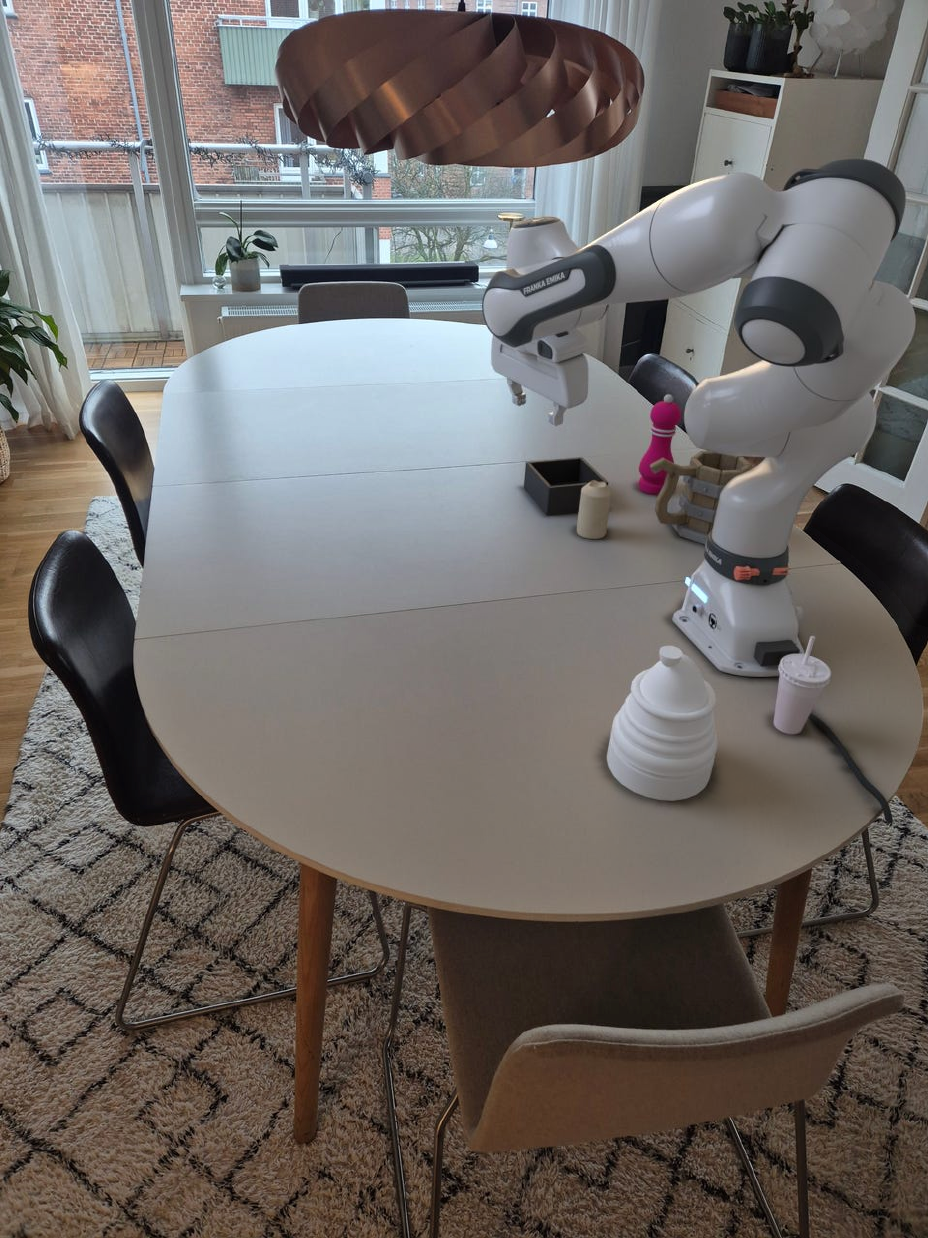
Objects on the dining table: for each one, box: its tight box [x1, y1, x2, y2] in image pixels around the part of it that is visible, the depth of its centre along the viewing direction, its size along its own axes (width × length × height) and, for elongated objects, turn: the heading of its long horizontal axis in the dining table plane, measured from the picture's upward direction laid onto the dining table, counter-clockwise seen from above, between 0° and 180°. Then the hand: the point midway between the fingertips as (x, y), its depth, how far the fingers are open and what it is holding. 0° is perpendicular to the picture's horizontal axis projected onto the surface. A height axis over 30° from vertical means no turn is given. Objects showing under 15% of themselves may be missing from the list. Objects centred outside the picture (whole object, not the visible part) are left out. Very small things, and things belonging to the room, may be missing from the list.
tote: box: [523, 456, 609, 516], centre depth 173 cm, size 13×12×6 cm
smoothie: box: [773, 635, 832, 735], centre depth 113 cm, size 6×6×14 cm
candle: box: [576, 480, 613, 540], centre depth 160 cm, size 6×6×10 cm
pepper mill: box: [637, 394, 682, 496], centre depth 175 cm, size 7×7×20 cm
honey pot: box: [606, 645, 718, 802], centre depth 104 cm, size 13×13×18 cm
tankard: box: [650, 450, 753, 546], centre depth 161 cm, size 20×13×15 cm, turn 99°
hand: (537, 413), depth 141 cm, fingers open, 8 cm apart
